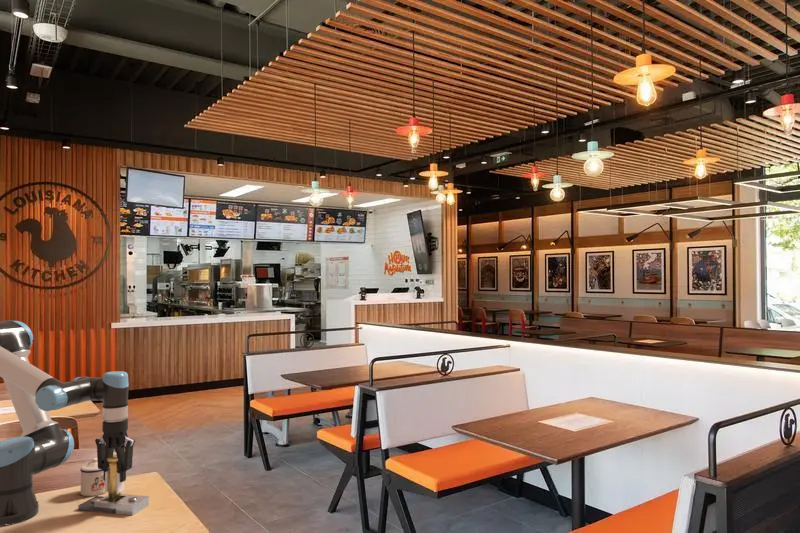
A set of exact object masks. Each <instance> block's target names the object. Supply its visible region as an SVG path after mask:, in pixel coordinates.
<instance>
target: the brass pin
mask: <svg viewBox="0 0 800 533" xmlns="http://www.w3.org/2000/svg"><path fill="white" fill-rule="evenodd" d="M107 462H109V485H108V492H107V495H108V501H109V502H116V501H118V500H120V499H121V494H122V491H121V492H120V493H116V482H117V472H118V471H119V468H118V458H117V455H116V454H113V456H110V457H108V458H107Z"/></svg>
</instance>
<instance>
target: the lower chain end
mask: <svg viewBox="0 0 800 533" xmlns="http://www.w3.org/2000/svg"><path fill="white" fill-rule="evenodd" d="M103 497H104V496H103V495H102V496H100V495H96V496H92V497H91V498H90V499H88V500H85V501H83V502H82V503H80V504H78V505H77V508H78V509H77V510H78V511H87V512H96V513H97V512H98V513H107V514H116V512H115V510H116V509H115V510H114V509H112V508H102V507H94V502H96V501H97V500H99V499H101V498H103Z"/></svg>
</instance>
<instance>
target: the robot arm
mask: <svg viewBox="0 0 800 533" xmlns="http://www.w3.org/2000/svg"><path fill="white" fill-rule="evenodd" d="M33 340H34V334H33V331H32V330H31V328H30V327H29V326H28V325H27V324H26V323H24V322H23V321H20V320H1V321H0V378H2V379H3V382H4V384H5V387H6V389H7V392H8V395H9V398H10V401H11V402H12V405H13V408H14V410H15V413H16V417H17V419H18V422H19V424H20V426H21V429H22V433H21V435H20V436H16V437H15V436H14V437H13V438H8V439H4V440H1V441H0V525H4V526H6V525H5V524H10V525H13V524H12V523H14V524H19V523H21V522H25V521H27V520H30V519H31V518H33V517H35V516H36V515H37V514H38V513H39V506H40V505H39V501H38V500H37V497H36V493H35V492H34V487H33V481H34V480H33V479H34V475H38V474H40V473H42V472H45V471H47V470H51V469H53V468H57V467H59V466H60V465H62V464H64V463H66V462H67V461H68V460H70V458H71V456H72V454H73V452H74V448H75V440H74V437H73V434H72V433H71V432H70V431H68V430H67V429H64V428H61V426H60V424H59V422H58V421H54V420H52V418H51V415H50V412H49V411H57V410H60V409H63V408H66V407H70V406H74V405H79V404H81V403H85V402H89V401H99V402H100V401H101V402H102V426H101V427H102V430H101V431H102V433H103V434H102V436H101V437H98V438H95V440H94V442H95V444H96V453H97V455H96V458H97V460H98V469H102V470H103V471H104V476H103V479H104V481H105V493H108V485H109V462H107V458H108V457H110V456H113V455H114V452H115V455H117V458H118V468H119V471H118V472H117V482H116V493H120V492H121V493H122V492H123V491H125V482H126V480H127V471H129V470H131V469H132V468H133V458H134V457H133V455H134V445H135V443H136V438H135V439H134V438H132V439H131V438H130V437H129V436H128V429H129V419H128V418H129V387H130V386H129V385H130V383H129V374H128V372H126V371H123V370H121V371H119V370H118V371H116V370H115V371H108V372H104V374H103V375H102V377H97V376H96V377H93V376H92V377H91V376H77V377H75V378H73V379H72V380H71V381H67V382H62V381H60V380H58V378H56V377H53V376H51V375H50V374H48V373H47V372H45V371H43V370H41V369H40V368H38V367H37V366H35V365H33V364H32V363H30V361H29V356H30V354H31V353H32V352H31V349H30V348H31V347H32V346H33Z"/></svg>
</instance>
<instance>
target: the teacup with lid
mask: <svg viewBox="0 0 800 533" xmlns="http://www.w3.org/2000/svg"><path fill="white" fill-rule="evenodd" d="M103 476H104V471H103V470H102V469H98V460H97V457H95V458H92V460H91V461H89V462H88V463H85V464H83V465H82V466H81V467H80V495H82V496H83V497H95V496H100V495H103V494H105V493H106V492H105V481H104V479H103Z"/></svg>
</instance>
